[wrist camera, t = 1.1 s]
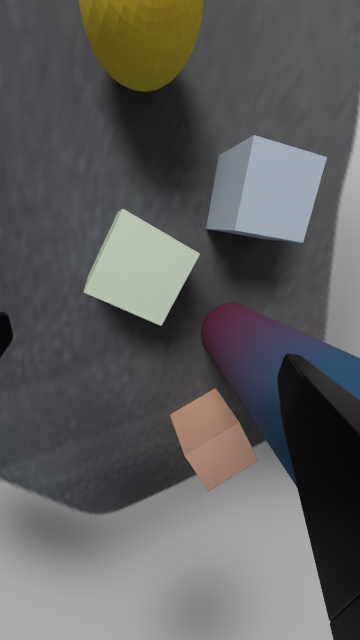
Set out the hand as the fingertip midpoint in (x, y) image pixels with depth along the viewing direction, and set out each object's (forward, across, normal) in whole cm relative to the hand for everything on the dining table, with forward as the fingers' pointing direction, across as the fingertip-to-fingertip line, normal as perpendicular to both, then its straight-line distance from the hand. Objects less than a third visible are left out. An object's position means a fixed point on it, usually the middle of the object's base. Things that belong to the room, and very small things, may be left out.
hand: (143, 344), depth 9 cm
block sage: (+12, +3, +1) cm, 13 cm away
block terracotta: (+12, -4, +16) cm, 21 cm away
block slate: (+16, -4, -4) cm, 17 cm away
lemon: (+14, +4, -10) cm, 18 cm away
